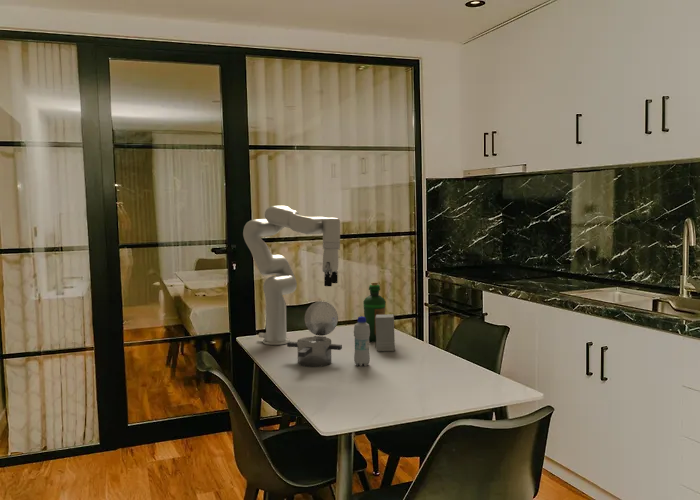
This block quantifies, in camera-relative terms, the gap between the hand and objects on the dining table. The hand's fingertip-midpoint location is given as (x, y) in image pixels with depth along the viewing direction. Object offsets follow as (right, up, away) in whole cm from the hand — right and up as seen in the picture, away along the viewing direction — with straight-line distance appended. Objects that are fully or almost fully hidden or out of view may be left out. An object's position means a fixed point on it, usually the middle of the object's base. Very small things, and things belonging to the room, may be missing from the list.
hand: (331, 284), depth 268 cm
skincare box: (+24, -30, +5) cm, 39 cm away
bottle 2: (+20, -28, +25) cm, 43 cm away
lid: (-4, -14, -9) cm, 17 cm away
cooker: (-7, -32, -20) cm, 38 cm away
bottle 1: (+13, -32, -20) cm, 40 cm away
